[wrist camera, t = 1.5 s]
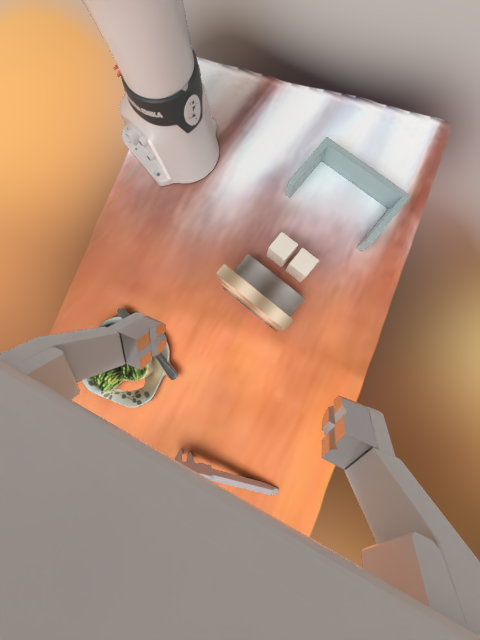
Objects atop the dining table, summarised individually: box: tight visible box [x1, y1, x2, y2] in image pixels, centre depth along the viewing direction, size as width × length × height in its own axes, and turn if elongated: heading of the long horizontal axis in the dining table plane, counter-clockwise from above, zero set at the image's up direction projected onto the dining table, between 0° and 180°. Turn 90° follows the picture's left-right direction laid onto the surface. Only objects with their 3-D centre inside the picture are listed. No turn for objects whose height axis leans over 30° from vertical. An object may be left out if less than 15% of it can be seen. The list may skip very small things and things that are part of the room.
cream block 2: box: [285, 248, 319, 282], centre depth 38 cm, size 4×4×4 cm
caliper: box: [175, 449, 279, 496], centre depth 35 cm, size 20×1×6 cm, turn 71°
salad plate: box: [82, 309, 178, 407], centre depth 38 cm, size 19×18×5 cm
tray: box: [285, 137, 410, 251], centre depth 39 cm, size 20×12×4 cm, turn 50°
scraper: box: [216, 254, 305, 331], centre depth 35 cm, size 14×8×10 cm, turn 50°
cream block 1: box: [267, 232, 298, 267], centre depth 39 cm, size 4×4×4 cm
